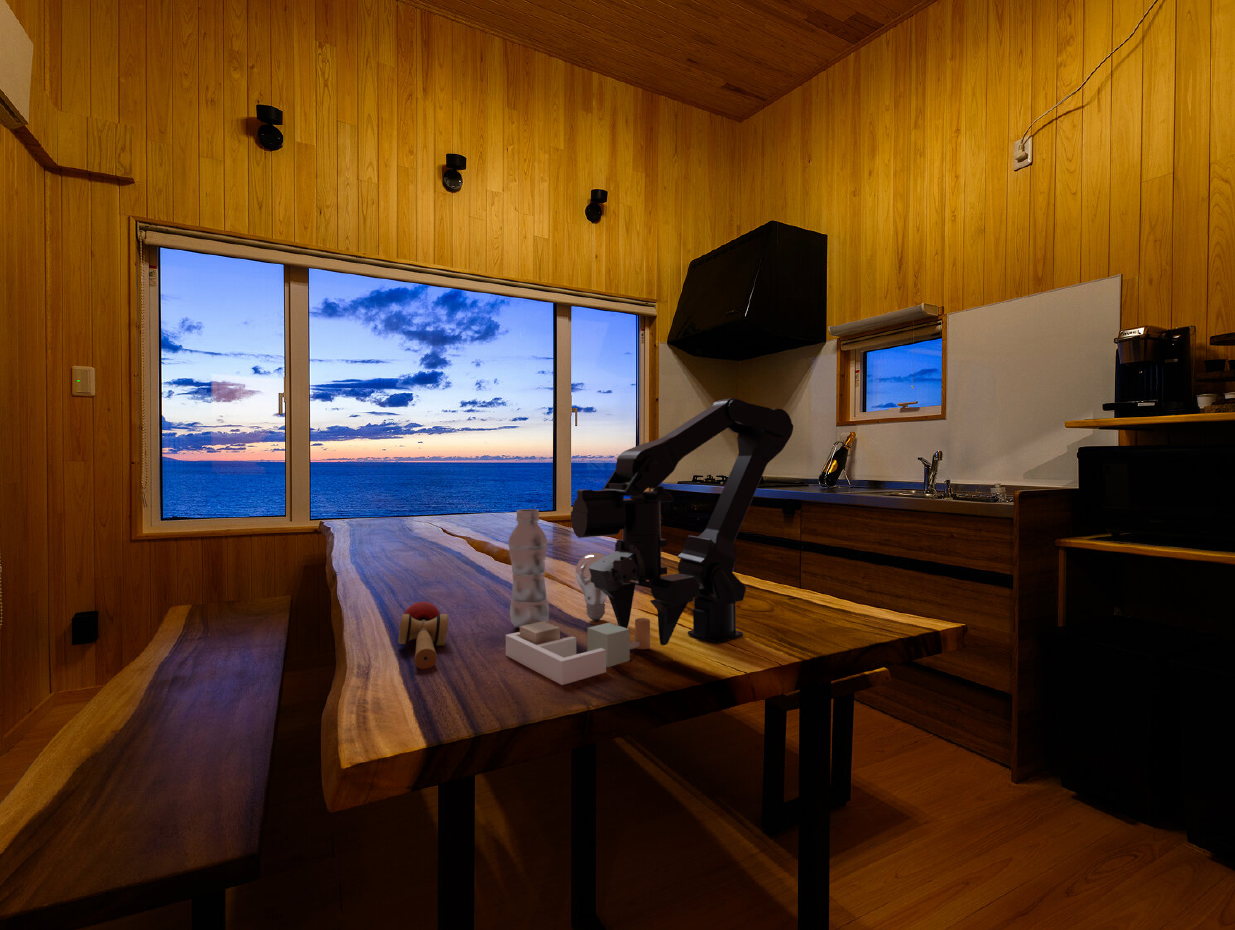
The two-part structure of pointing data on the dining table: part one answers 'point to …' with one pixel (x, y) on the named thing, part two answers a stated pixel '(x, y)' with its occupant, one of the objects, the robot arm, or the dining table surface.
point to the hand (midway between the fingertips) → (643, 637)
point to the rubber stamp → (618, 640)
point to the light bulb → (590, 587)
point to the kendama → (424, 631)
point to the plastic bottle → (528, 570)
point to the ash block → (539, 632)
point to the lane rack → (556, 658)
